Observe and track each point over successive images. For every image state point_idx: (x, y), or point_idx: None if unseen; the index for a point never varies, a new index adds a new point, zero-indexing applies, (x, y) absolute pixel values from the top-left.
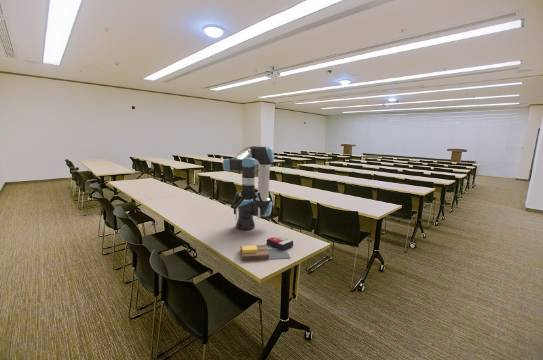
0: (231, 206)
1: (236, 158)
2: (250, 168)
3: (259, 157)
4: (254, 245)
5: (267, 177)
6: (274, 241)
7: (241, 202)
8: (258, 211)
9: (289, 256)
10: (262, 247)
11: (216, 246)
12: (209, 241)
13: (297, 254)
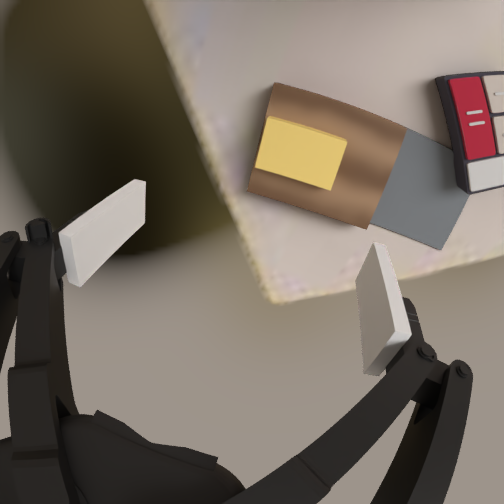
0: (9, 285)
1: None
2: None
3: None
4: (337, 140)
5: None
6: (462, 134)
7: (69, 375)
8: (371, 323)
9: (444, 240)
10: (380, 147)
11: (177, 9)
12: None
13: (478, 237)
